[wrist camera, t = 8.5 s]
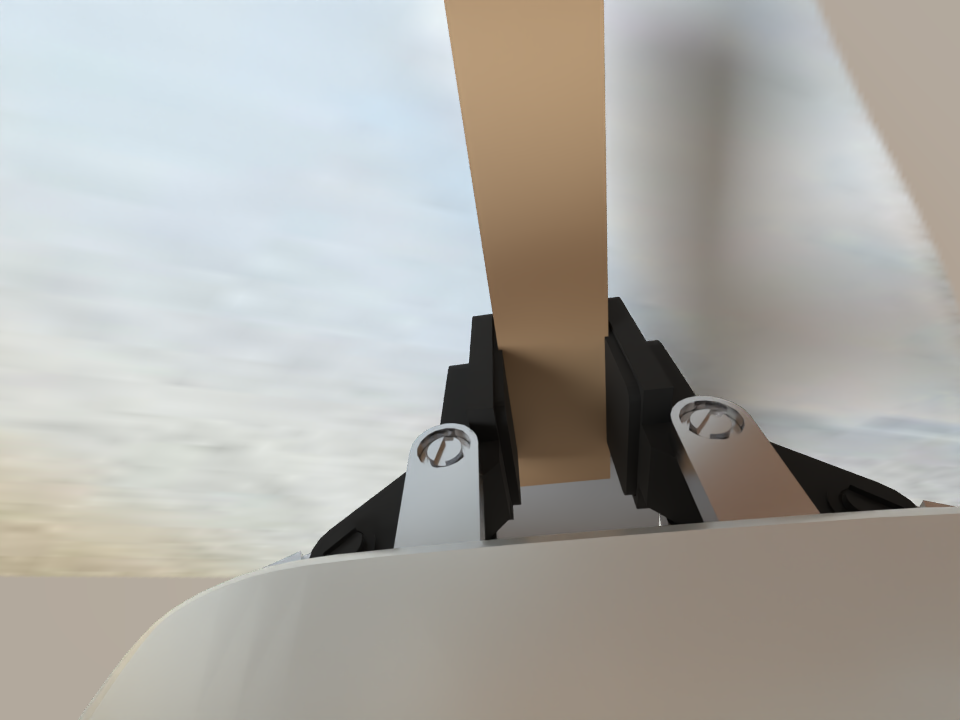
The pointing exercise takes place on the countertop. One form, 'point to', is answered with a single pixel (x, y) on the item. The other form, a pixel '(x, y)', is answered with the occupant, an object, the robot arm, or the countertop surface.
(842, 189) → the countertop surface
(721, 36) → the countertop surface
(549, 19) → the turner
